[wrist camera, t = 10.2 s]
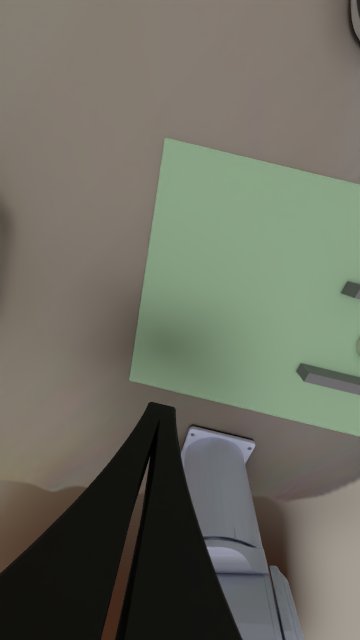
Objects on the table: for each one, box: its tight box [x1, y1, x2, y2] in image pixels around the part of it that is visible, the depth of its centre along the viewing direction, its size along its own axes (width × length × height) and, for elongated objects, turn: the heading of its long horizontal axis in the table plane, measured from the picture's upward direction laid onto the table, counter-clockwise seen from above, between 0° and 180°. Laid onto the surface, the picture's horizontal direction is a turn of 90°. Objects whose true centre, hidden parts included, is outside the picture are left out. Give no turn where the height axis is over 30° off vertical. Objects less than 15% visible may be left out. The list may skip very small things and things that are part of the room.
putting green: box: [129, 138, 360, 436], centre depth 17 cm, size 21×26×1 cm
